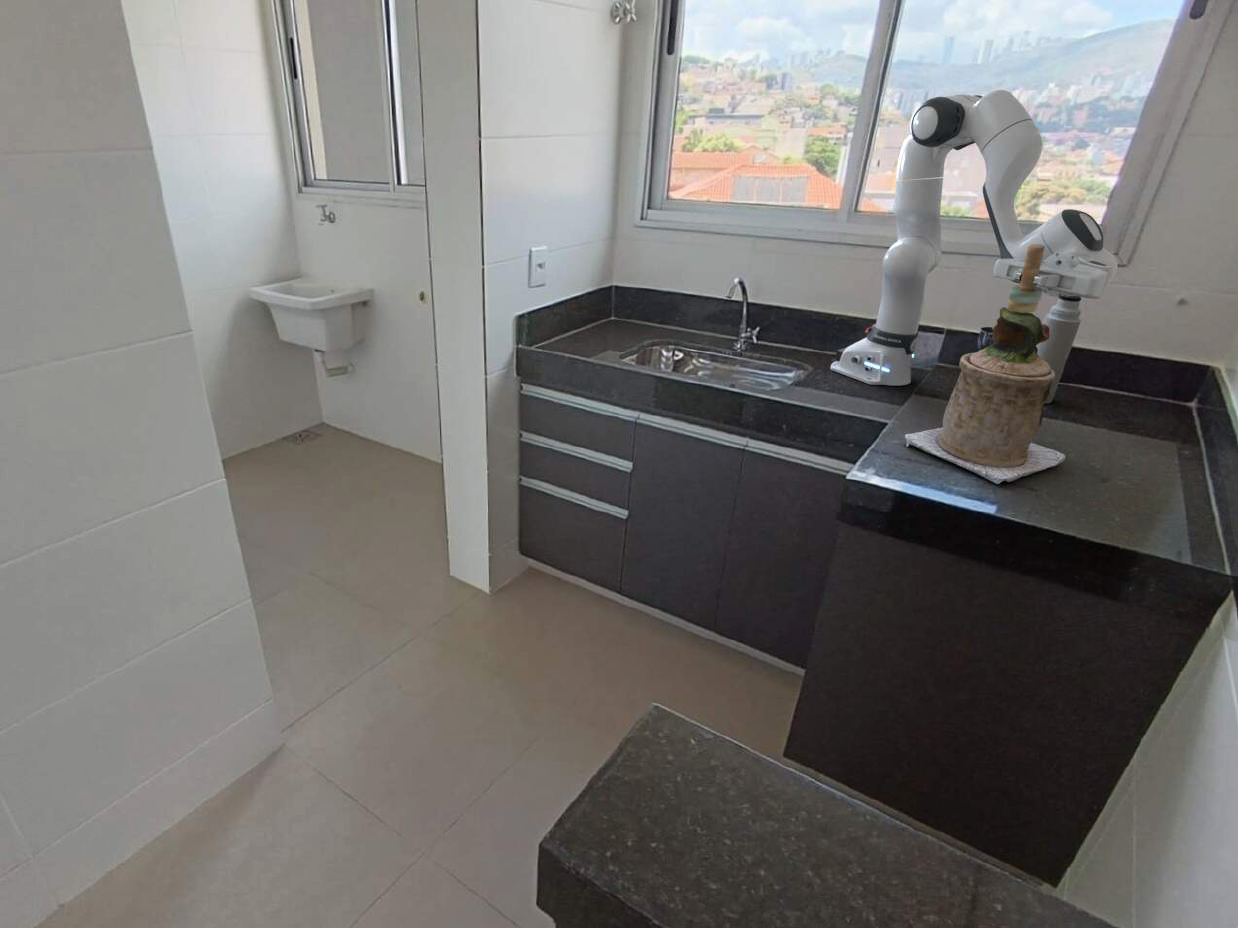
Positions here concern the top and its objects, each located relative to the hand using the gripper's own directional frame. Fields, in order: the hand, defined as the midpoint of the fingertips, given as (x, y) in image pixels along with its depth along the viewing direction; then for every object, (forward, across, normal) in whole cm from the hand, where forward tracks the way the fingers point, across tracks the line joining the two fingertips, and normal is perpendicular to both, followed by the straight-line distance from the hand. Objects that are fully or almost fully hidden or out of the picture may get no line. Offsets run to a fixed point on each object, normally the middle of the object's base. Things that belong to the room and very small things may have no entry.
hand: (1026, 278), depth 133 cm
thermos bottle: (-50, -13, +38) cm, 65 cm away
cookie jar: (-1, +2, +38) cm, 38 cm away
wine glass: (-49, -28, +38) cm, 68 cm away
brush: (-2, 0, +6) cm, 6 cm away
